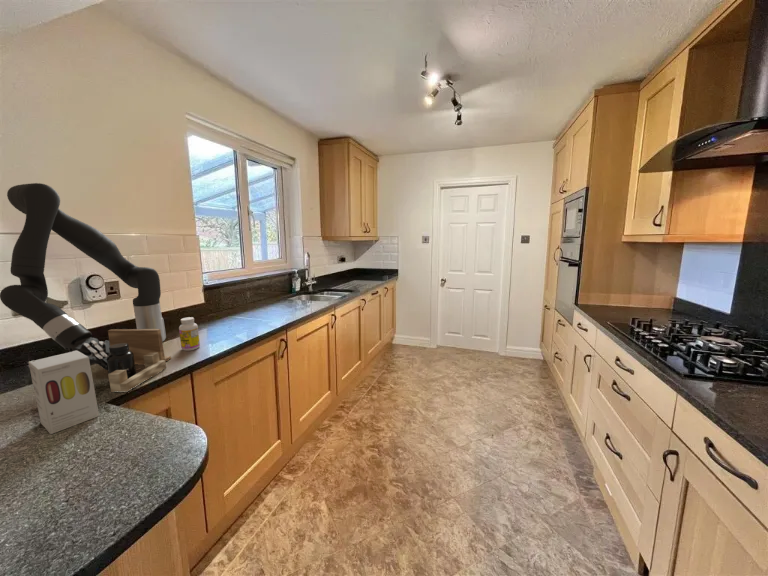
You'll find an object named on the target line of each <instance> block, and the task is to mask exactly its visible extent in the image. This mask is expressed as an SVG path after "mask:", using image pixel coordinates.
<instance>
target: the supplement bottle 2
mask: <svg viewBox="0 0 768 576" xmlns="http://www.w3.org/2000/svg"><path fill="white" fill-rule="evenodd" d="M180 323H181V324H180V325H179V327H178V330H179V339H180V348H181V350H182V351H186V352H188V351H189V352H190V351H193V350H194V351H195V350H197V349H199V348H200V347H201V343H200V335H199V327H198V324H197V323H195V318H194V317H193V316H191V317H190V316H188V317H183V318H181V319H180Z"/></svg>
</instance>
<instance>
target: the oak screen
mask: <svg viewBox="0 0 768 576" xmlns="http://www.w3.org/2000/svg"><path fill="white" fill-rule="evenodd" d="M107 335H108V341H109V344H110V346H112V345H115V344H120V343H128V345H129V350H128V351H131V352H133V354H134V360H135V364H138V365H145V363H144V355H146V354H148V353H158V354H159V361H161V360H165V363H166V361H167V362H168V361H170V360H171V359H172V357H171V356H169V355H167V356H166V355H165V349H164V343H163V341H162V336H161V329H137V328H133V329H132V328H129V329H128V328H122V329H119V328H117V329H115V328H113V329H112V328H111V329H109V330H107ZM169 359H170V360H169Z"/></svg>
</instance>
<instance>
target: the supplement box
mask: <svg viewBox="0 0 768 576" xmlns="http://www.w3.org/2000/svg"><path fill="white" fill-rule="evenodd" d="M28 367H29V372H30V375H31V381H32V386H33V391H34V396H35V401H36V406H37V410H38V415H39V421H40V424H41V425H42V426H43V427H44V428H45V430H46V431H47V432H48V433H49V434H50V435H53V434H55V433H57V432H61V431H63V430H65V429H68V428H69V429H70V428H71V427H74V426H76V425H79V424H81V423H84V422H87V421H90V420H92V419H95V418H97V417H99V416H100V415H99V408H98V404H97V403H98V402H97V396H96V391H95V390H96V389H95V385H94V381H93V373H92V369H91V365H90V361H89V357H88V356H86V355H84V354H82V353H81V352H79V351H77V350H76V351H72V352H70V351H69V352H65V353H61V354H57V355H52V356H48V357H47V356H46V357H44V358H39V359H36V360H34V359H33V360H31V361H30V360H29V361H28Z"/></svg>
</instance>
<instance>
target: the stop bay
mask: <svg viewBox="0 0 768 576" xmlns="http://www.w3.org/2000/svg"><path fill="white" fill-rule="evenodd" d="M144 363H145V364H144V369H142V370H141V371H139V372H136V374H135V375H134V376H132V377H130V378H129V379H128V378H127V372H126V370H116V371H114V372H112V373H110V374H109V373H108V375H107V376H108V381H109V386H110V391H111V392H114V391H128V390H129V389H131V388H133V387H135V386H136V385H138V384H139V383H141V382H143V381H144V380H146V379H148V378H150V377H151V376H153V377H155V376H156V375H155V374H157V373H158V372H160V371H161V370H163V369H164V370H166V369H167V365H166V362H165V360H161V361H159V354H158V353H148V354H146V355H144ZM165 368H166V369H165ZM164 370H163V371H164ZM161 372H162V371H161ZM161 372H160V373H161ZM158 374H159V373H158ZM158 374H157V375H158ZM154 375H155V376H154ZM150 379H151V378H150Z"/></svg>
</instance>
